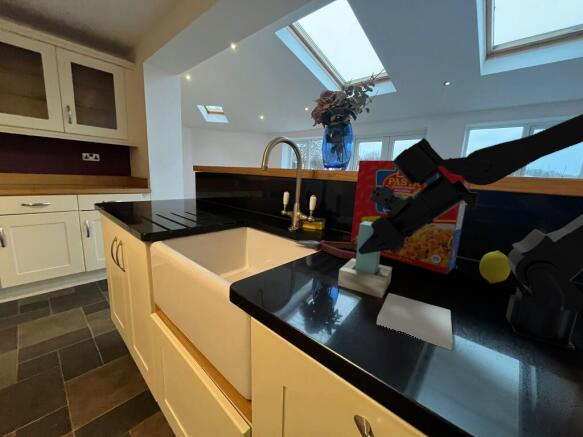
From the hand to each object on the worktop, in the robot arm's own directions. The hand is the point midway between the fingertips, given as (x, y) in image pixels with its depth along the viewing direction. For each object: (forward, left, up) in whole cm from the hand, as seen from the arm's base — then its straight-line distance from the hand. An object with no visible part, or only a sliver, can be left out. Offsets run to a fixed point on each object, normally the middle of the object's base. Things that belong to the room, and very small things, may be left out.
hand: (362, 249), depth 53 cm
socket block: (-1, 0, -7) cm, 8 cm away
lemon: (-26, -19, -8) cm, 33 cm away
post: (-1, 0, -7) cm, 7 cm away
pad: (-12, +9, -7) cm, 17 cm away
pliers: (+14, -19, -8) cm, 25 cm away
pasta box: (-4, -26, -8) cm, 28 cm away
